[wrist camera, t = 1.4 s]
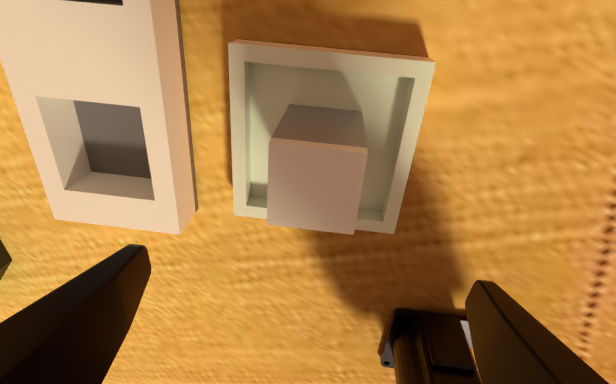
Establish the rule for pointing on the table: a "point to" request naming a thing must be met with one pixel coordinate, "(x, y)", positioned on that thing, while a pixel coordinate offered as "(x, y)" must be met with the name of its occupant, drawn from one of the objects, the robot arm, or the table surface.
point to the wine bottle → (4, 260)
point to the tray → (329, 94)
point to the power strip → (104, 108)
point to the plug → (316, 169)
